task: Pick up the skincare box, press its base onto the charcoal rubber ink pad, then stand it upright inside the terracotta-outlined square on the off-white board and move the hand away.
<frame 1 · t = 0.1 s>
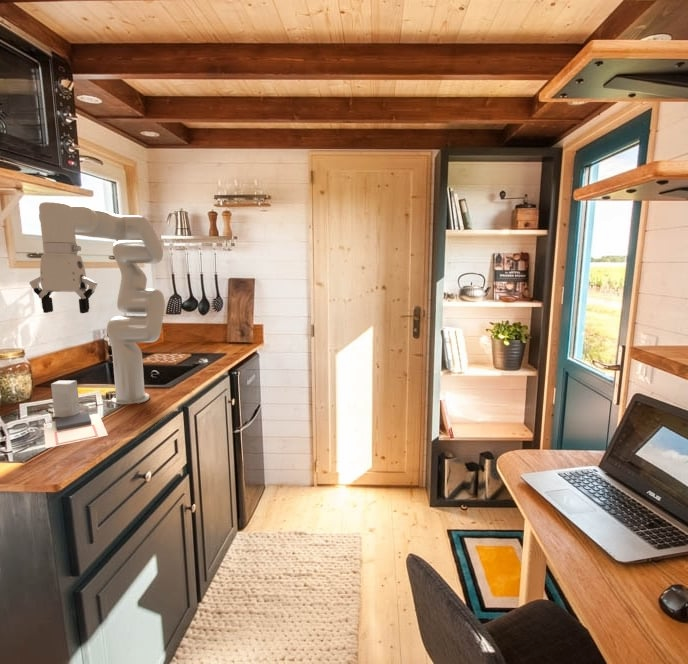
hand: (66, 312, 115), 37 cm above the kitchen counter, fingers open, 9 cm apart
ink pad: (73, 423, 130), resting on stamping board
skincare box: (67, 417, 137), on the kitchen counter
stamping board: (75, 431, 126), on the kitchen counter
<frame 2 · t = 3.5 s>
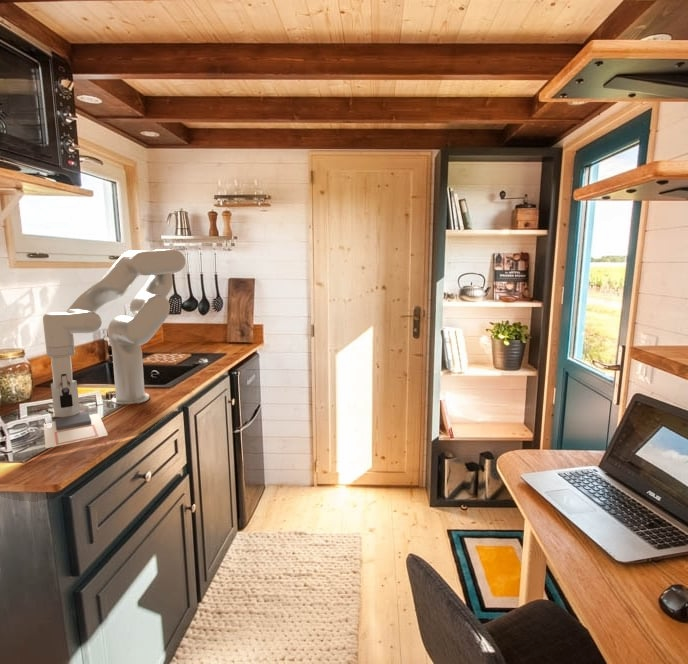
hand: (66, 403, 136), 5 cm above the kitchen counter, fingers closed on skincare box, 6 cm apart
skincare box: (67, 417, 137), on the kitchen counter, touching gripper
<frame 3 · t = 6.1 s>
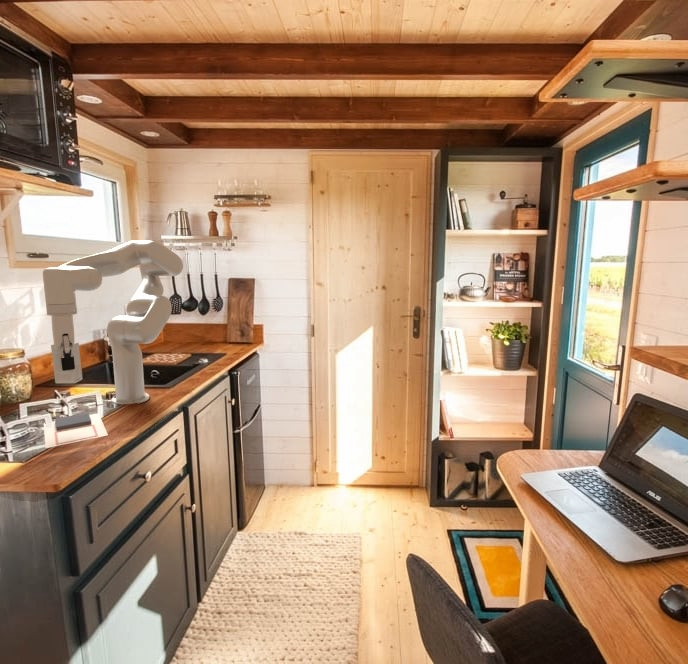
hand: (67, 366, 127), 19 cm above the kitchen counter, fingers closed on skincare box, 6 cm apart
skincare box: (69, 382, 128), point 14 cm above the kitchen counter, touching gripper
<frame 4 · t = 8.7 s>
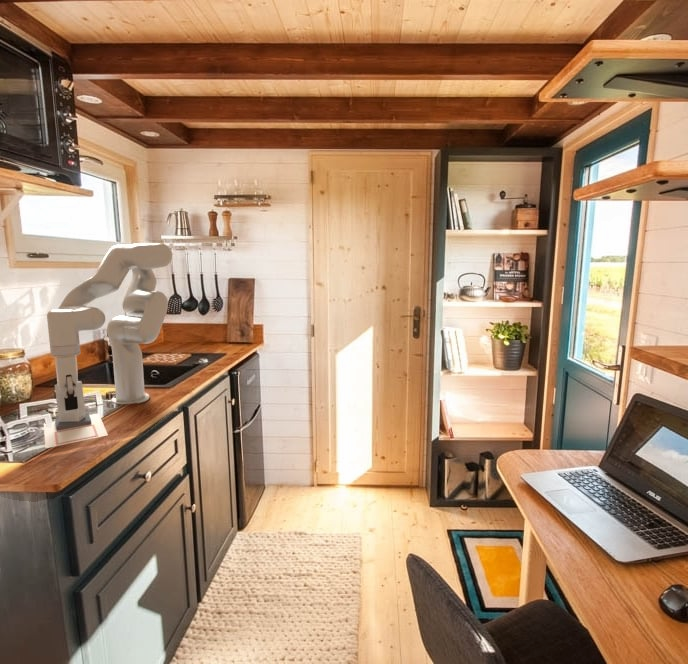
hand: (70, 405, 129), 7 cm above the kitchen counter, fingers closed on skincare box, 6 cm apart
skincare box: (72, 420, 130), point 2 cm above the kitchen counter, touching gripper, ink pad
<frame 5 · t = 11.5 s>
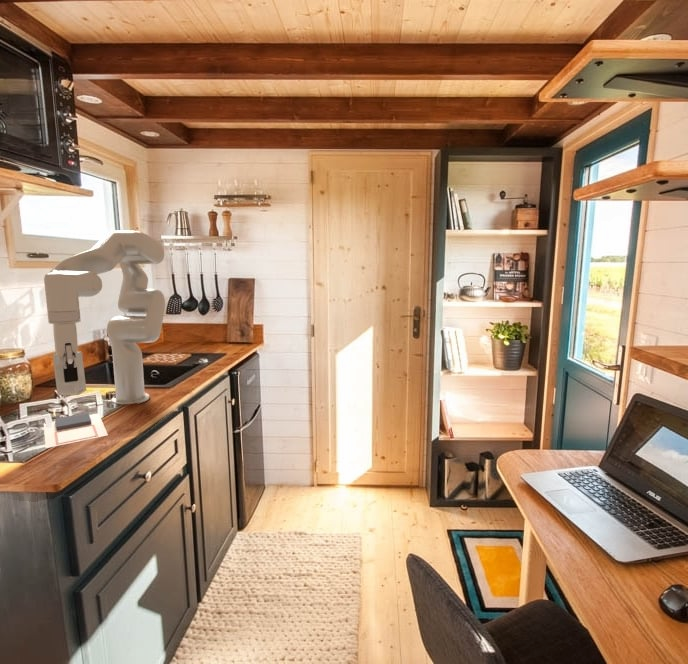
hand: (70, 377, 119), 18 cm above the kitchen counter, fingers closed on skincare box, 6 cm apart
skincare box: (72, 393, 120), point 13 cm above the kitchen counter, touching gripper
when the fingers open (7 cm above the kitchen counter, at t = 13.9 s): skincare box drops 1 cm, resting on stamping board.
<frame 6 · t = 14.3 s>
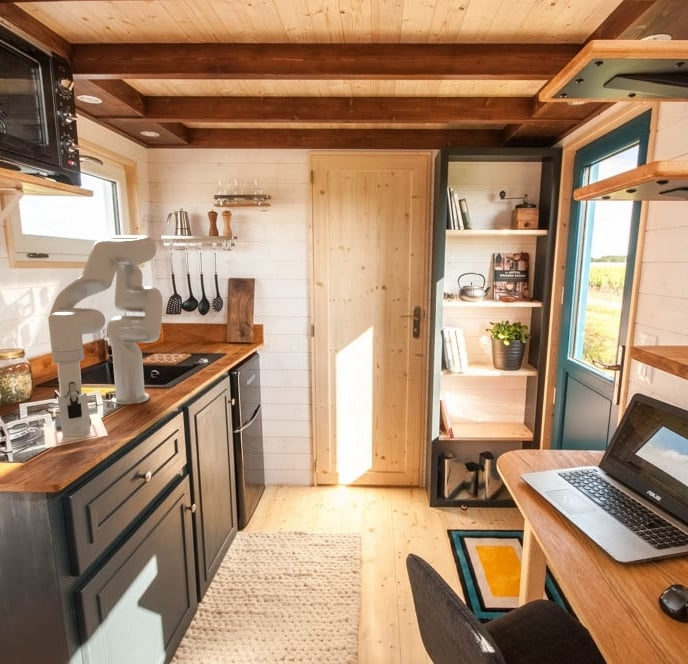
hand: (73, 412, 121), 8 cm above the kitchen counter, fingers open, 9 cm apart
skincare box: (76, 434, 122), point 1 cm above the kitchen counter, touching stamping board
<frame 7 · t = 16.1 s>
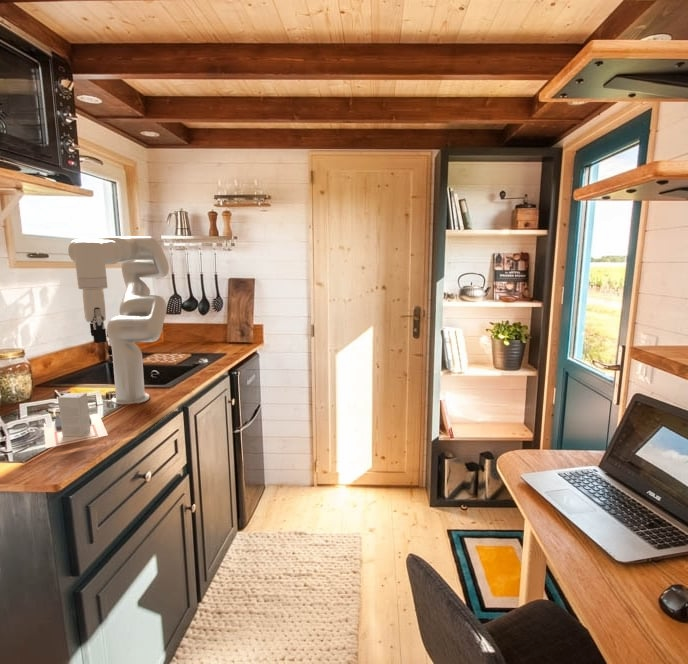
hand: (98, 338, 127), 28 cm above the kitchen counter, fingers open, 9 cm apart
nothing on the kitchen counter moved.
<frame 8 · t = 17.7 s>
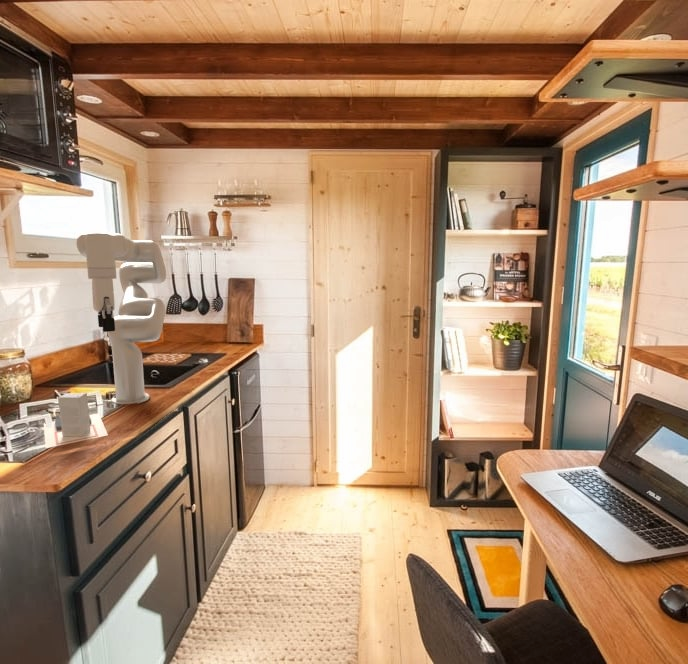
hand: (106, 328, 129), 30 cm above the kitchen counter, fingers open, 9 cm apart
nothing on the kitchen counter moved.
at the end: skincare box 0.2 cm from the target spot on the stamping board, point 0.6 cm above the stamping board's base; skincare box tilted 0°; the gripper is holding nothing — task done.
